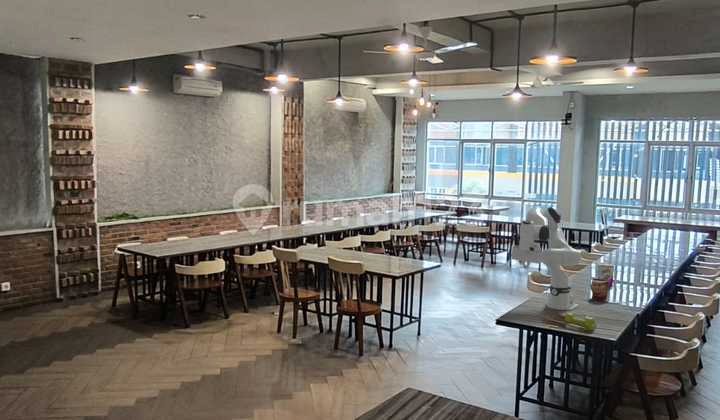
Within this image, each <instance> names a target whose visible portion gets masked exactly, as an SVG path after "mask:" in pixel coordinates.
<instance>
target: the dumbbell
mask: <svg viewBox="0 0 720 420" xmlns="http://www.w3.org/2000/svg"><path fill="white" fill-rule="evenodd" d="M564 316H565V321H564V322H565V323H569V324H573V325H578V326H579V325H580V326H584V325H585V326H584V327H585V331H589V332H591V331H594V329H595V328H594V327H595V323H596V320H595V318H594V317H589V318H587V319H586V320H583V319H581V318H576V317H575V314H574V313H571V312H568V313H566V315H564Z"/></svg>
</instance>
